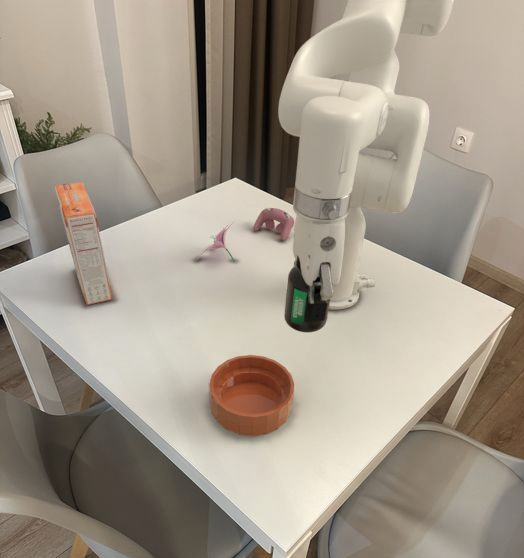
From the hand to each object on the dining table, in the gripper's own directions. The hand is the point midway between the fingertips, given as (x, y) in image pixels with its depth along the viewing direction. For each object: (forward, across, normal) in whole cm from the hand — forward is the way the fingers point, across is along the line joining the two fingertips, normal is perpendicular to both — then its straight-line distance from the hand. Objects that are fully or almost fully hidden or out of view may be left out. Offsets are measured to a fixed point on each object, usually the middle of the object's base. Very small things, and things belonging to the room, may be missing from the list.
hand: (307, 304), depth 81 cm
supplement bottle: (+3, 0, 0) cm, 3 cm away
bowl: (+19, -3, +9) cm, 21 cm away
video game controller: (+20, +55, -8) cm, 59 cm away
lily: (+20, +45, +8) cm, 50 cm away
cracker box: (+20, +37, +37) cm, 56 cm away
